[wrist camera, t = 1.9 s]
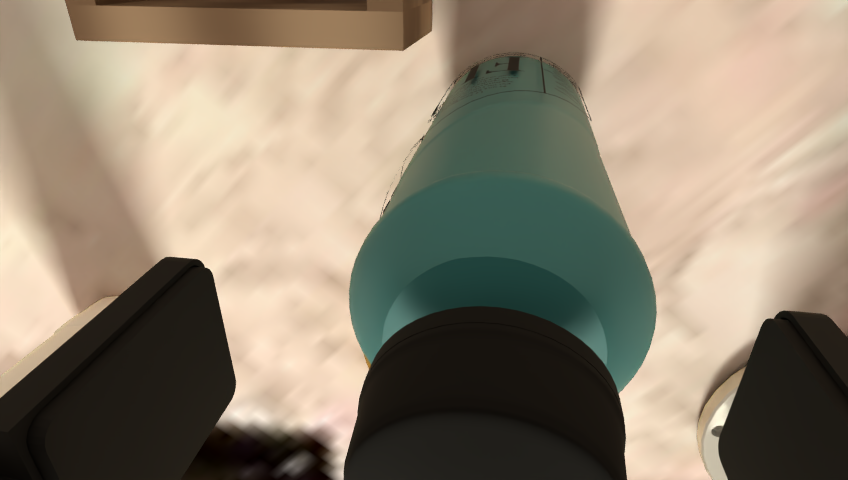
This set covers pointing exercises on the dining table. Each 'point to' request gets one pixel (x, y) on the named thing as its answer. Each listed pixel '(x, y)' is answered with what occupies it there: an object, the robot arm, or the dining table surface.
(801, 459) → the robot arm
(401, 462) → the beverage bottle
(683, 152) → the dining table surface
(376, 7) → the u rest
